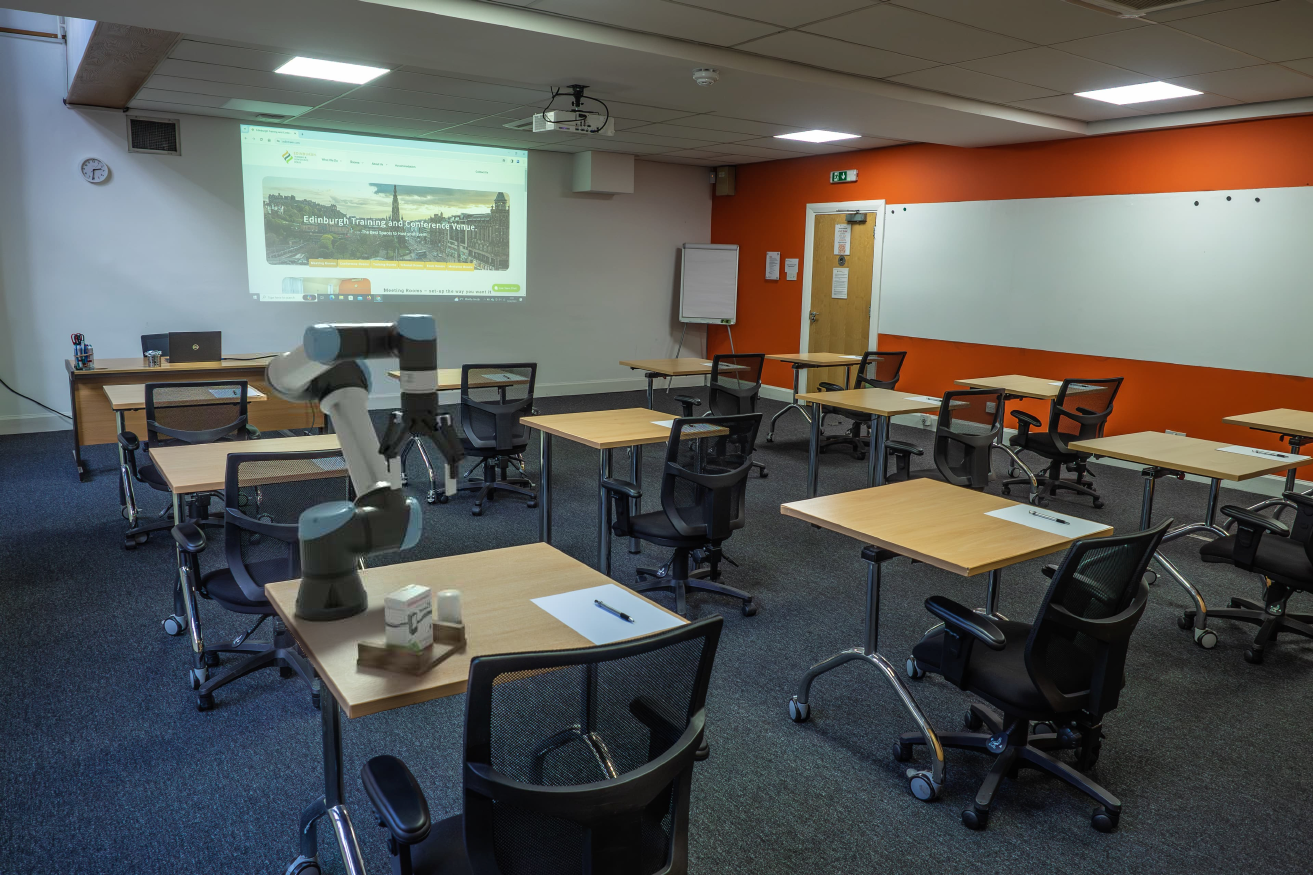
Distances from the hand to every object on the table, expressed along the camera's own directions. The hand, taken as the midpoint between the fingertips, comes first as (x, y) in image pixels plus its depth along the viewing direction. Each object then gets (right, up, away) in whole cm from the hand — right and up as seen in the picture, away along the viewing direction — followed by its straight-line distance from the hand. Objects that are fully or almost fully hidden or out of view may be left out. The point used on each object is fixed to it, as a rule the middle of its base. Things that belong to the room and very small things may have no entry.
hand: (423, 491), depth 176 cm
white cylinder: (+4, -28, +6) cm, 29 cm away
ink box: (+1, -30, -12) cm, 33 cm away
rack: (+1, -31, -11) cm, 33 cm away
